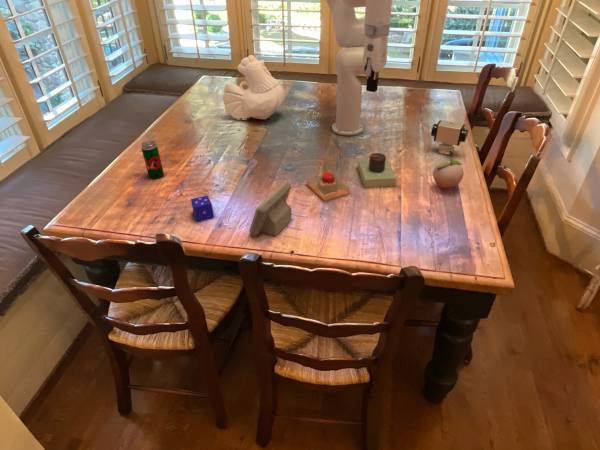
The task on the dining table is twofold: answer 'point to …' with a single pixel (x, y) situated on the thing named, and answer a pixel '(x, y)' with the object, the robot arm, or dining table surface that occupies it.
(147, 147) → the soda can
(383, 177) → the dial panel
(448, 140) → the pneumatic valve
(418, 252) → the dining table surface
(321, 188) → the button box
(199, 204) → the die
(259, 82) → the decorative rooster
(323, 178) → the button
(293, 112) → the dining table surface
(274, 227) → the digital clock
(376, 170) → the dial knob
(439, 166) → the decorative fruit
